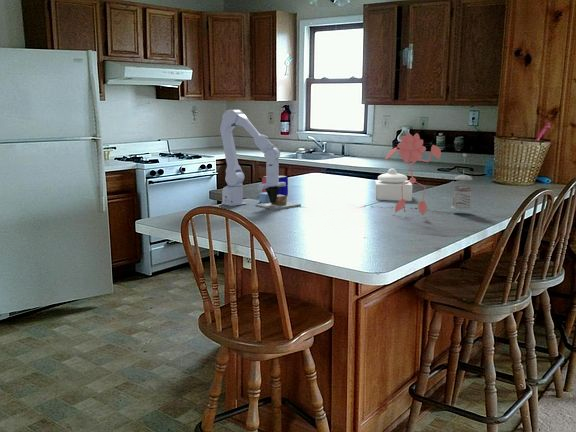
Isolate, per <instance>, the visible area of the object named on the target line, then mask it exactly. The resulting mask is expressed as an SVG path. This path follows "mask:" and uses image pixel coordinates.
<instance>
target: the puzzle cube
mask: <svg viewBox="0 0 576 432" xmlns="http://www.w3.org/2000/svg"><path fill="white" fill-rule="evenodd" d="M288 179H289V177H288V176H286V175H279V182H286V186H281V187H278V188H280V190H279V192H278V194H277V195H285V196H288V195H289V180H288ZM265 183H266V175H265V176H261V184H265ZM264 192H266V190H265V188H264V189H261V193H264Z"/></svg>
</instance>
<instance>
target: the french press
mask: <svg viewBox="0 0 576 432" xmlns="http://www.w3.org/2000/svg"><path fill="white" fill-rule="evenodd" d="M467 156H468V155H467V154H466V153H462V157H463V162H465V161H466V160H465V158H466V157H467ZM462 173H463V174H459V175H458V176H457V175H456V176H455V177H454V180H456V181H472V180H473V177H471V176H469V175H466V174H465V170H463V172H462ZM454 180H453V181H450V182H449V183H448V185H447V189H449V187H450V185H451V184H452V183H453V185H455V184H456V182H455V181H454ZM454 188H455V189H454V190H453V195H451V194H450V192H449V190H447V193H448V195H449V196H450V197H452V205H451V206H450V208H451V209H454V210H458V211H459V210H461V211H463V210H464V211H467V210H468V211H469V210H473V209H474V208H473V206H471V205H472V204H471V202H472V190H471V188H472V187H471V186H468V185H467V186H465V185H456V186H454Z"/></svg>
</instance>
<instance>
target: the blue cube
mask: <svg viewBox="0 0 576 432" xmlns="http://www.w3.org/2000/svg"><path fill="white" fill-rule="evenodd" d="M258 198H259V199H258V200H259V201H258V203H259V202H261V203H260V204H262V203H269V202H270V199H269V196H268V194H267V192H264V193H262V192H259V193H258Z"/></svg>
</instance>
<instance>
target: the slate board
mask: <svg viewBox="0 0 576 432" xmlns="http://www.w3.org/2000/svg"><path fill="white" fill-rule="evenodd" d="M258 206H260V207H259V208H262V207H265V208H264V209H267V208H269V209H268V210H271V209H273V210H272V211H281V210H286V209H292V208H299V207H300V208H301V207H302V204H301V203H296V202H290V201H287V204H285V205H274V204H272V203H270V202H269V203H256V204H255V207H258ZM280 209H281V210H280Z"/></svg>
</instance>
